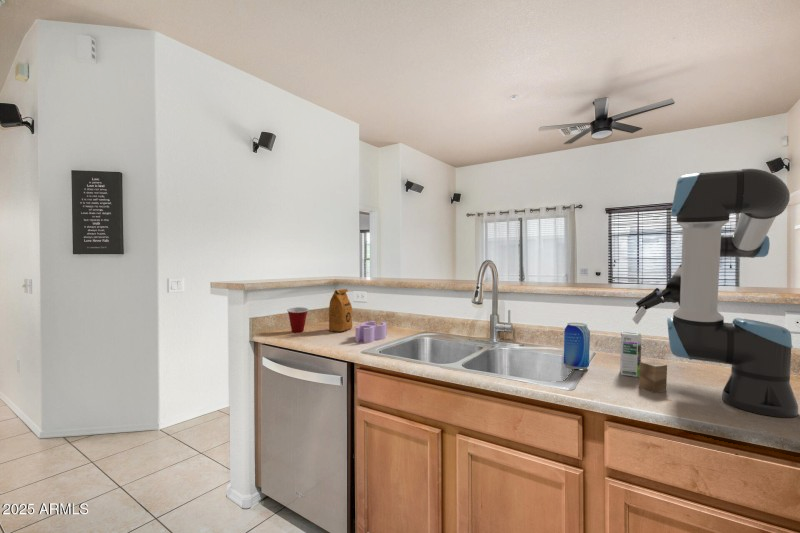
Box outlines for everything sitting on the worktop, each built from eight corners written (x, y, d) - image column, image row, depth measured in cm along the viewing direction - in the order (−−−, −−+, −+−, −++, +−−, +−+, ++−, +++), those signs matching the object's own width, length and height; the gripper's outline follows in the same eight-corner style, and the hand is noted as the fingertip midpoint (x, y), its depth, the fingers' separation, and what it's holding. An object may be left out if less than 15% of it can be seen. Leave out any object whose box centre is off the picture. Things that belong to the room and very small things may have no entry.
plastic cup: (286, 334, 188) (286, 310, 188) (287, 330, 199) (287, 307, 198) (308, 333, 191) (308, 310, 190) (308, 329, 201) (308, 307, 201)
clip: (372, 344, 170) (372, 329, 170) (348, 341, 175) (349, 327, 174) (391, 336, 188) (391, 322, 188) (369, 333, 193) (369, 320, 193)
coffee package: (355, 329, 203) (355, 288, 202) (341, 333, 192) (341, 290, 191) (340, 327, 207) (340, 287, 207) (326, 331, 196) (326, 289, 196)
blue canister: (558, 365, 139) (559, 323, 139) (573, 363, 143) (574, 321, 143) (578, 372, 132) (579, 327, 131) (594, 369, 136) (595, 325, 135)
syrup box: (620, 375, 129) (622, 333, 129) (619, 370, 134) (621, 330, 134) (640, 377, 127) (641, 335, 126) (638, 373, 132) (640, 332, 131)
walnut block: (666, 391, 114) (667, 365, 114) (654, 393, 113) (655, 366, 112) (650, 385, 119) (651, 360, 119) (639, 387, 117) (639, 362, 117)
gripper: (726, 292, 128) (695, 339, 123) (654, 286, 151) (625, 325, 146) (716, 277, 126) (685, 324, 121) (645, 273, 149) (616, 312, 144)
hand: (652, 325), depth 134 cm, fingers open, 13 cm apart
